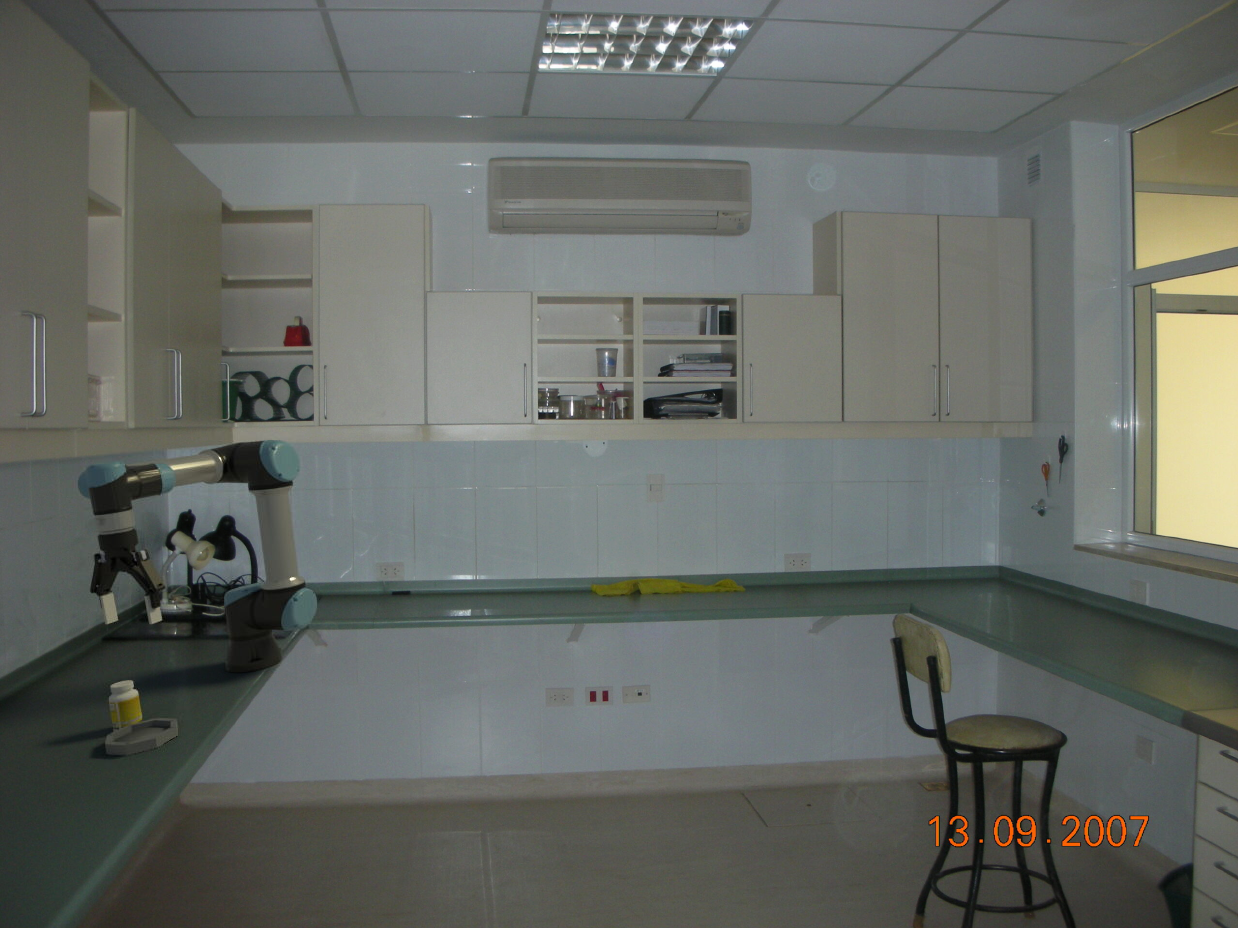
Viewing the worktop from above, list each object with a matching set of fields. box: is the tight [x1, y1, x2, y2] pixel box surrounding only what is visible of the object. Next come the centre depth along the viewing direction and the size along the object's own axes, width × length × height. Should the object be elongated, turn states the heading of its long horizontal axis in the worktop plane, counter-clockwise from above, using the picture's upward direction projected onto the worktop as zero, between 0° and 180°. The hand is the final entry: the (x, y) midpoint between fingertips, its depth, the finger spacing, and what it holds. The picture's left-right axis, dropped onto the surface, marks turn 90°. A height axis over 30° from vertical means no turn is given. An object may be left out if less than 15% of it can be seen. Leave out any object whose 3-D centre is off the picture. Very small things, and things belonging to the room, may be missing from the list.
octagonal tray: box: [104, 717, 179, 757], centre depth 187 cm, size 14×14×2 cm
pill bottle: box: [108, 679, 144, 732], centre depth 195 cm, size 6×6×11 cm
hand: (133, 622), depth 185 cm, fingers open, 13 cm apart
